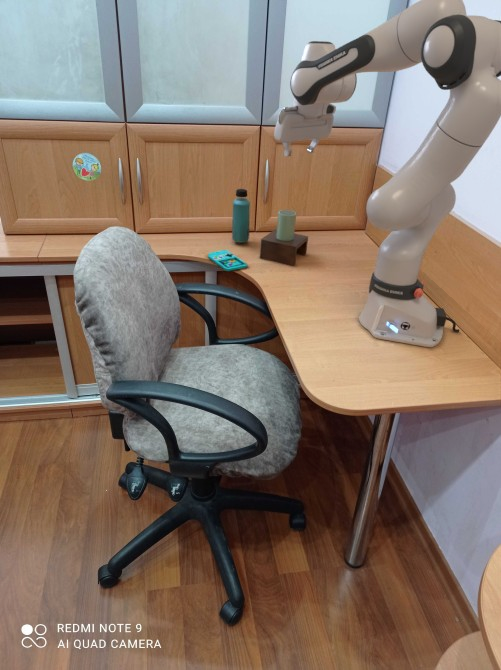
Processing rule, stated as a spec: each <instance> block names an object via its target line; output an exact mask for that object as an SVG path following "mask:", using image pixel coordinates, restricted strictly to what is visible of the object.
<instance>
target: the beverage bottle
mask: <svg viewBox="0 0 501 670" xmlns="http://www.w3.org/2000/svg"><path fill="white" fill-rule="evenodd" d="M235 197H237V198H235V199H234V200H233V201H232V225H231V226H232V227H231V240H232V241H234V242H236V243H246V242H248V241H249V239H250V222H251V221H250V219H251V218H250V217H251V212H250V211H251V210H250V209H251V202H250V201H249V200H248V198H247V197H248V189H246V188H238V189H236V190H235Z"/></svg>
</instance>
